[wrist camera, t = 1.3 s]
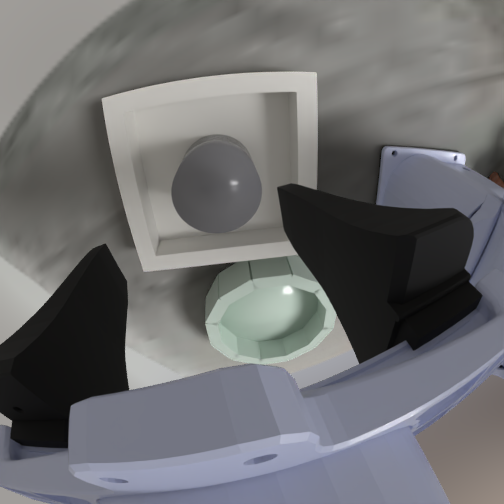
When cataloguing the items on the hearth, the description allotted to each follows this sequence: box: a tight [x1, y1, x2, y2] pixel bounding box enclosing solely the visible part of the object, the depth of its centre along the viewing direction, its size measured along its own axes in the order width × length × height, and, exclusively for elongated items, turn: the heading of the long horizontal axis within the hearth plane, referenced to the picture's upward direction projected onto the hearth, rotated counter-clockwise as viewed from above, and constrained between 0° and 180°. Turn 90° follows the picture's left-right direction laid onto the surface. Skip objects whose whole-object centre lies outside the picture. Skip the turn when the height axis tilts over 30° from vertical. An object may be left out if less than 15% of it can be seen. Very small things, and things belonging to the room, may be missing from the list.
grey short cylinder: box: [171, 134, 262, 233], centre depth 16 cm, size 5×5×4 cm
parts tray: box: [102, 72, 318, 272], centre depth 17 cm, size 12×12×3 cm
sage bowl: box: [205, 255, 336, 365], centre depth 25 cm, size 11×11×3 cm
